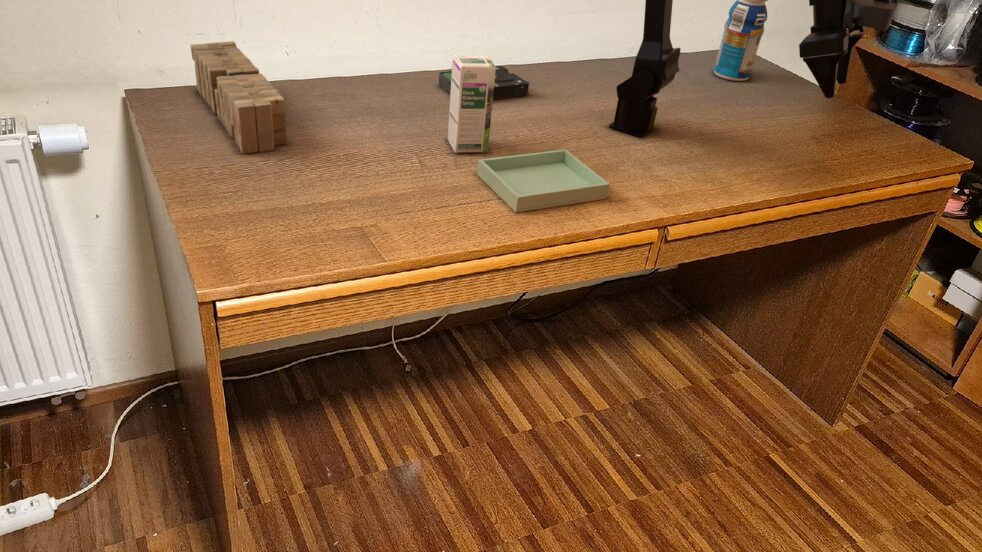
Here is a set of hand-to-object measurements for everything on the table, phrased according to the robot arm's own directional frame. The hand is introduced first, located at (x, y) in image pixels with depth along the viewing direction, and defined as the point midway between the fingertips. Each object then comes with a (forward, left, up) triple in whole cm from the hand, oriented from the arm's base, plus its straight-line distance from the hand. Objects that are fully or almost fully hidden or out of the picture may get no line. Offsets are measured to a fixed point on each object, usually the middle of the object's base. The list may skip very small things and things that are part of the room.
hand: (836, 90), depth 127 cm
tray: (-32, -34, -16) cm, 50 cm away
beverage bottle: (-29, +46, -16) cm, 57 cm away
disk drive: (-62, -6, -16) cm, 65 cm away
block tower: (-83, -49, -16) cm, 98 cm away
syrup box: (-49, -30, -16) cm, 60 cm away
